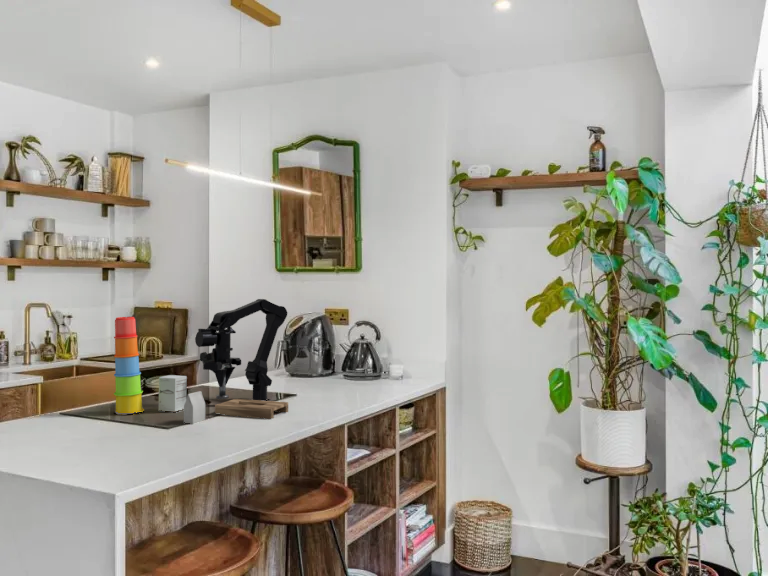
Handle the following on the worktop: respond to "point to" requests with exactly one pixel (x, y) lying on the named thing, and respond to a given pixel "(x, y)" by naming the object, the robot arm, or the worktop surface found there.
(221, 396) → the tee peg
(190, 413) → the grey gabled carton
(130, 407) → the stacking cups
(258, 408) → the keyhole board
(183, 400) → the supplement box
